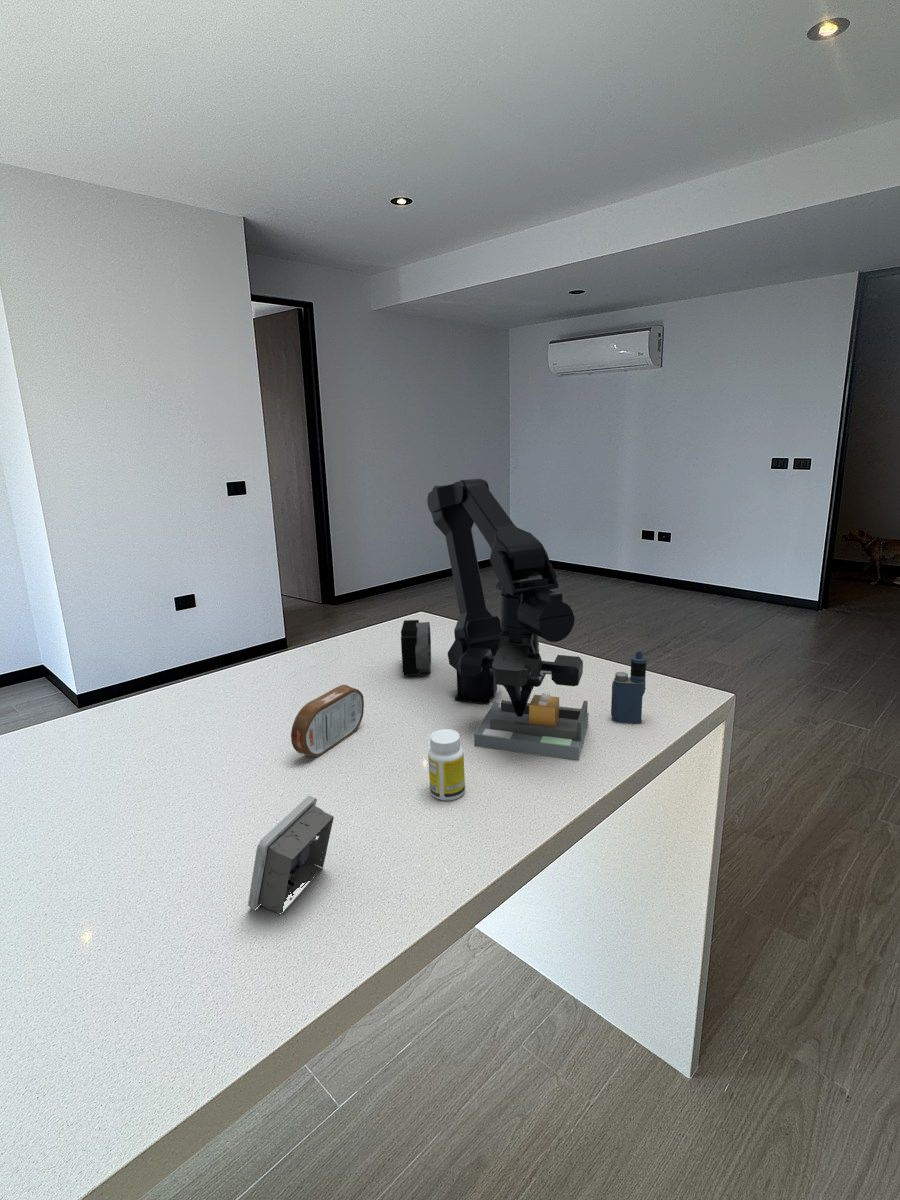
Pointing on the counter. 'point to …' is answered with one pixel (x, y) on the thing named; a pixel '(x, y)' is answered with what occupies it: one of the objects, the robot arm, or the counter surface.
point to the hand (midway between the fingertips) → (520, 715)
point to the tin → (327, 720)
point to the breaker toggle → (544, 710)
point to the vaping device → (629, 692)
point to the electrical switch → (290, 855)
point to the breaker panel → (533, 731)
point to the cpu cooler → (416, 647)
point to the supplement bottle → (446, 765)
